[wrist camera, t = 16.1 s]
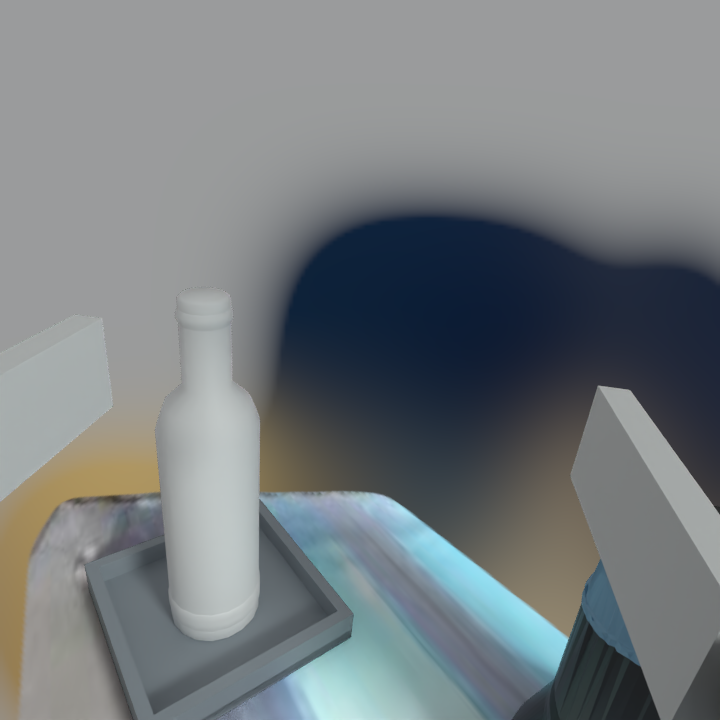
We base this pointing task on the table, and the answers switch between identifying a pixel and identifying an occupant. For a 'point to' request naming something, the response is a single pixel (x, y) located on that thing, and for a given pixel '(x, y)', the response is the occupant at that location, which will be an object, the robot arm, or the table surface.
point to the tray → (220, 657)
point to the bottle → (209, 476)
